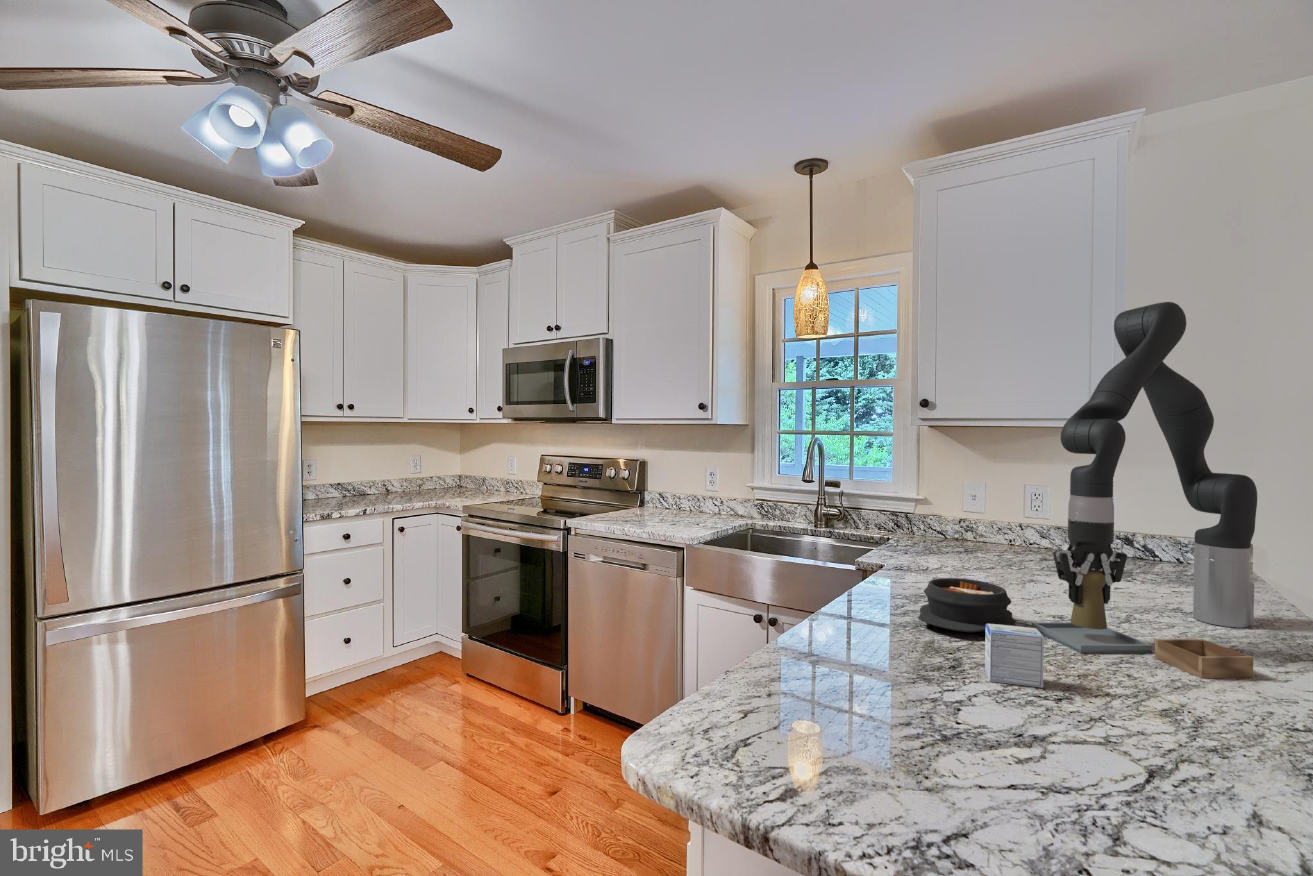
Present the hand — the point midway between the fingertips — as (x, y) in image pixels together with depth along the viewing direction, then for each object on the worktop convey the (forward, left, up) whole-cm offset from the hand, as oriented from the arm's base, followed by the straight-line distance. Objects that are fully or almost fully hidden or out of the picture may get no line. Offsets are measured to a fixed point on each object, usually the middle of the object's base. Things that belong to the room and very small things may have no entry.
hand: (1088, 602), depth 122 cm
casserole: (+19, -11, -8) cm, 23 cm away
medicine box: (+28, +19, -8) cm, 35 cm away
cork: (0, 0, -5) cm, 5 cm away
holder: (-10, +14, -8) cm, 19 cm away
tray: (0, 0, -8) cm, 8 cm away
